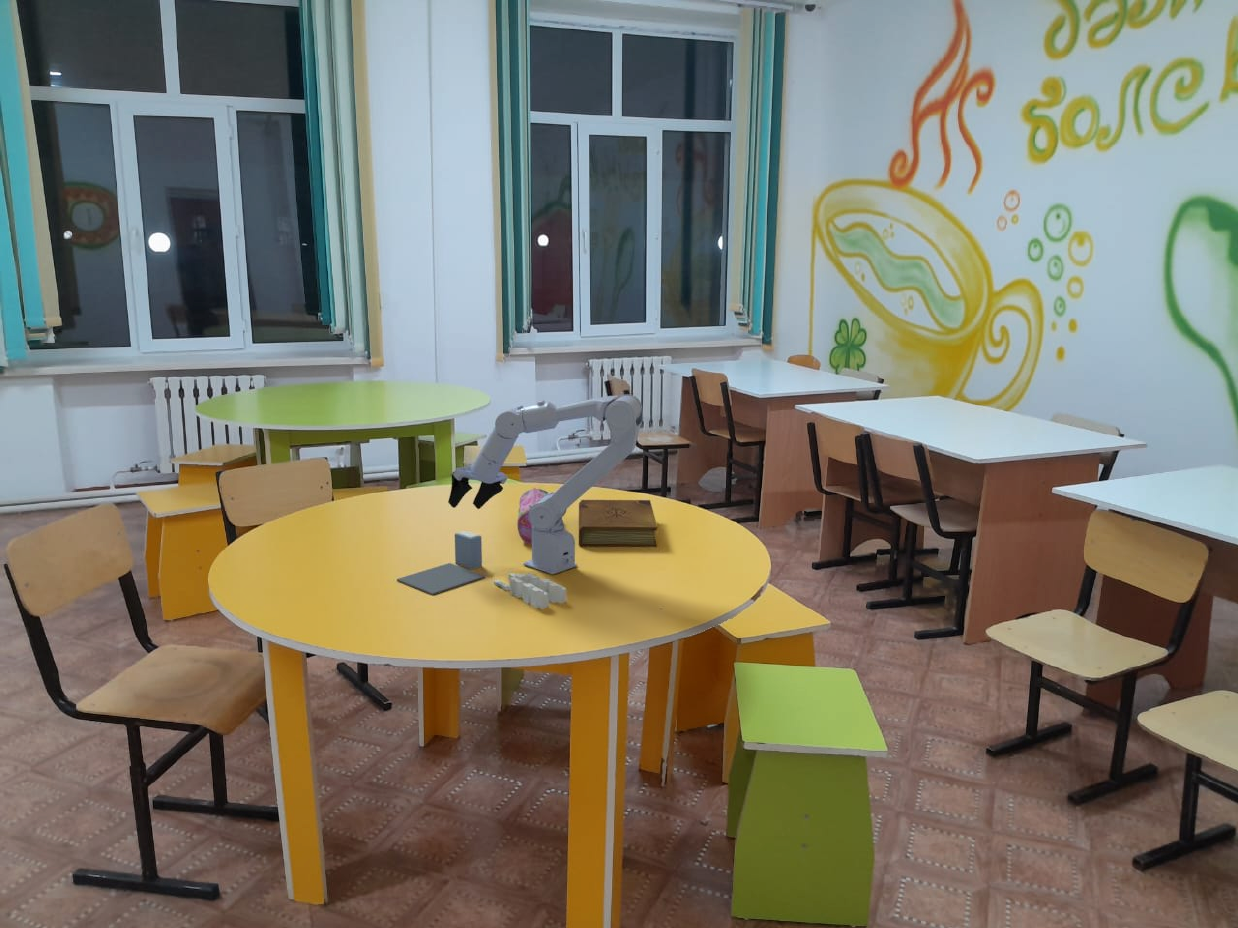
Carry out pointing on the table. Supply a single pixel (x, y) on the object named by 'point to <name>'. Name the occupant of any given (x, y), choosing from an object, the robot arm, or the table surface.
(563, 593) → the modular blocks
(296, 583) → the table surface
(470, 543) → the block
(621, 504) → the diary
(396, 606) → the table surface
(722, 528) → the table surface
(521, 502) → the pencil case
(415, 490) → the table surface
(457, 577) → the mat
